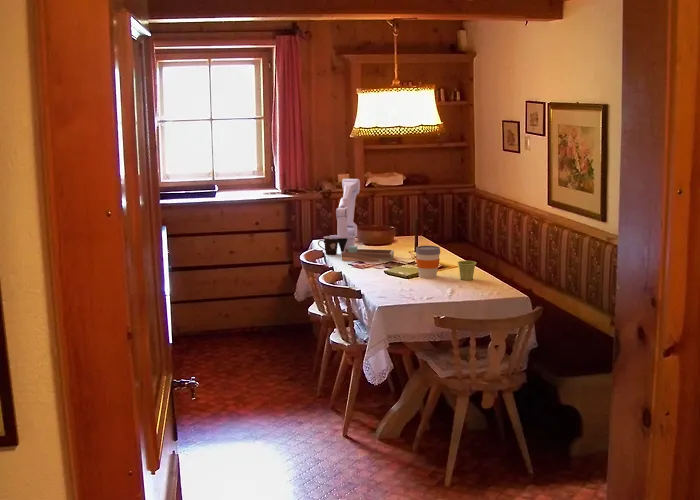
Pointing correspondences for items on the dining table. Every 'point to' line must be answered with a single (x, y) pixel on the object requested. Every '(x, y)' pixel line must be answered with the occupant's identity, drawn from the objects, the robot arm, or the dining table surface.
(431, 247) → the reusable coffee cup
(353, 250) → the teal block
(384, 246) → the dining table surface
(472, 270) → the plant pot
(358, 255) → the trap tray
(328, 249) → the coffee mug
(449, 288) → the dining table surface
